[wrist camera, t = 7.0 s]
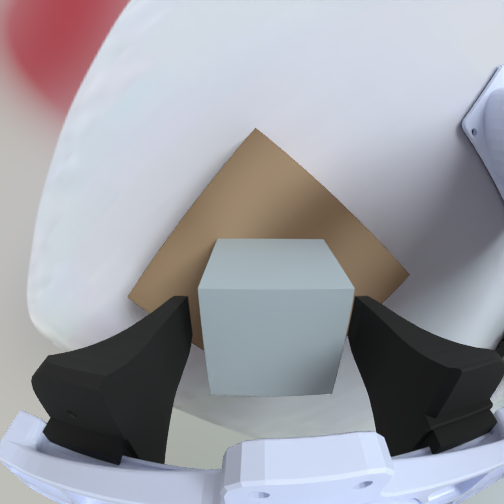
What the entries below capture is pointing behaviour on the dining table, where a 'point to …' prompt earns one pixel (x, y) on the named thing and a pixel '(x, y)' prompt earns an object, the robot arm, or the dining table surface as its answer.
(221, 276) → the block
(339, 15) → the dining table surface
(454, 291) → the dining table surface
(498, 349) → the figurine
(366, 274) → the plinth
